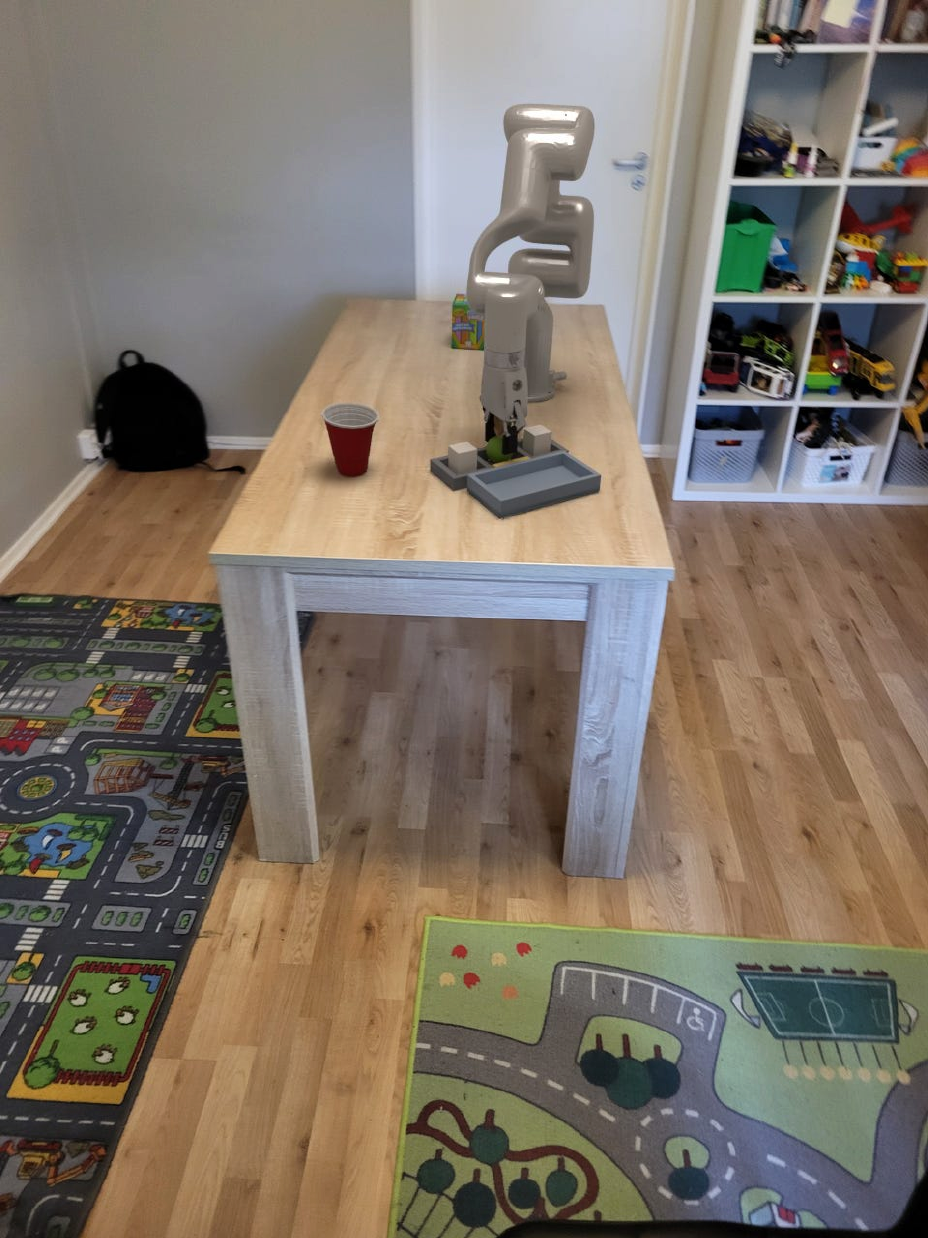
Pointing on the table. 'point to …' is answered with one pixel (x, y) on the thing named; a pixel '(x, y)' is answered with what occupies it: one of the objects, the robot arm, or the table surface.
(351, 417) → the plastic cup
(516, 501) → the tray
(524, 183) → the robot arm
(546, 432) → the block
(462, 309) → the chalk box
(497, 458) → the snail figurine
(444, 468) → the rack
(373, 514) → the table surface
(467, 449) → the block
